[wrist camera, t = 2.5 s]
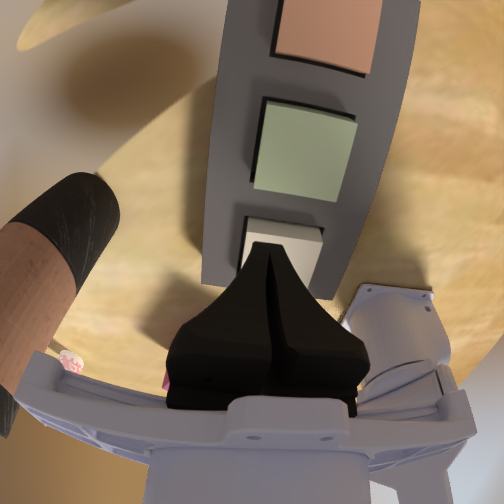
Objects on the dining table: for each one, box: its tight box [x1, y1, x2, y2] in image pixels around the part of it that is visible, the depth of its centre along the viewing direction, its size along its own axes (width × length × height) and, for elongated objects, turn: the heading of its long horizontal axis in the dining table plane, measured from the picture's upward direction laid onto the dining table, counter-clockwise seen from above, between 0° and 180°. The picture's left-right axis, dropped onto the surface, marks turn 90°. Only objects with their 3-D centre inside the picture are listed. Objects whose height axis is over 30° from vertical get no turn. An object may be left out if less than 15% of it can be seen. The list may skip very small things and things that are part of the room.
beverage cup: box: [44, 350, 84, 426], centre depth 35 cm, size 6×6×14 cm
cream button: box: [241, 216, 323, 288], centre depth 21 cm, size 5×5×2 cm
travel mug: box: [0, 172, 120, 438], centre depth 15 cm, size 8×8×20 cm
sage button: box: [254, 100, 358, 202], centre depth 16 cm, size 5×5×2 cm
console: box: [201, 0, 421, 300], centre depth 18 cm, size 11×24×3 cm, turn 172°
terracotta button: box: [275, 0, 383, 74], centre depth 11 cm, size 5×5×2 cm
